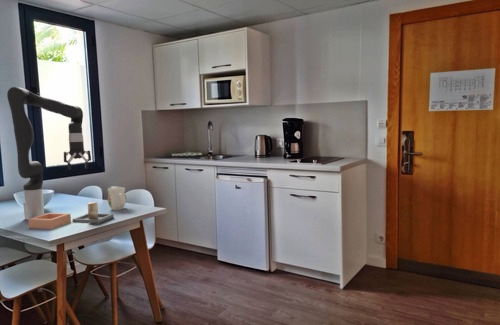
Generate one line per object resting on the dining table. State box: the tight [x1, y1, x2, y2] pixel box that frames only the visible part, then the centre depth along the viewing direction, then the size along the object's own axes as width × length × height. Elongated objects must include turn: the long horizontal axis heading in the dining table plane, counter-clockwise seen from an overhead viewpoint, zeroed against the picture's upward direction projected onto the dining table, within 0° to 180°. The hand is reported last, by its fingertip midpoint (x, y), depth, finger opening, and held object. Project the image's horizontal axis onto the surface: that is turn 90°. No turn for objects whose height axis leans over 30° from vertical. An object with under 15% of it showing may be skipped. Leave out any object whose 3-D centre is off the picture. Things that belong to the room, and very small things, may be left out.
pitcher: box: [107, 185, 127, 211], centre depth 236 cm, size 11×18×14 cm, turn 36°
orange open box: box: [27, 212, 72, 230], centre depth 199 cm, size 14×14×6 cm
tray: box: [71, 212, 115, 226], centre depth 209 cm, size 16×14×2 cm
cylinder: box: [87, 201, 99, 220], centre depth 208 cm, size 5×5×9 cm
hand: (78, 168), depth 217 cm, fingers open, 8 cm apart
